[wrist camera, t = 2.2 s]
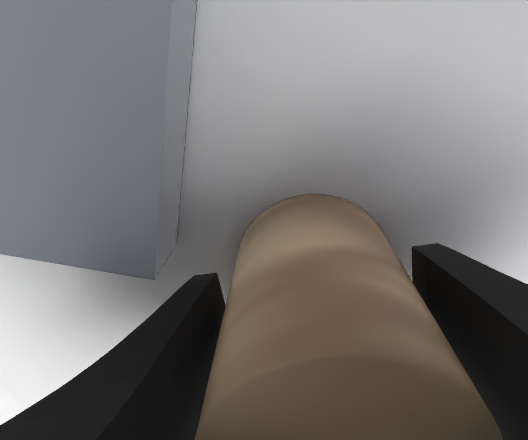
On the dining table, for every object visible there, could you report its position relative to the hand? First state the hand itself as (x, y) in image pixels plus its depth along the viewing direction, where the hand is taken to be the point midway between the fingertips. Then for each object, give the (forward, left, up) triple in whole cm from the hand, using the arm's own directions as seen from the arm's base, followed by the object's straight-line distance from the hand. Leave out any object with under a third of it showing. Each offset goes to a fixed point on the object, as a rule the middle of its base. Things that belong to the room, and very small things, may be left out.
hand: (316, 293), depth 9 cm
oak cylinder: (0, 0, -1) cm, 1 cm away
